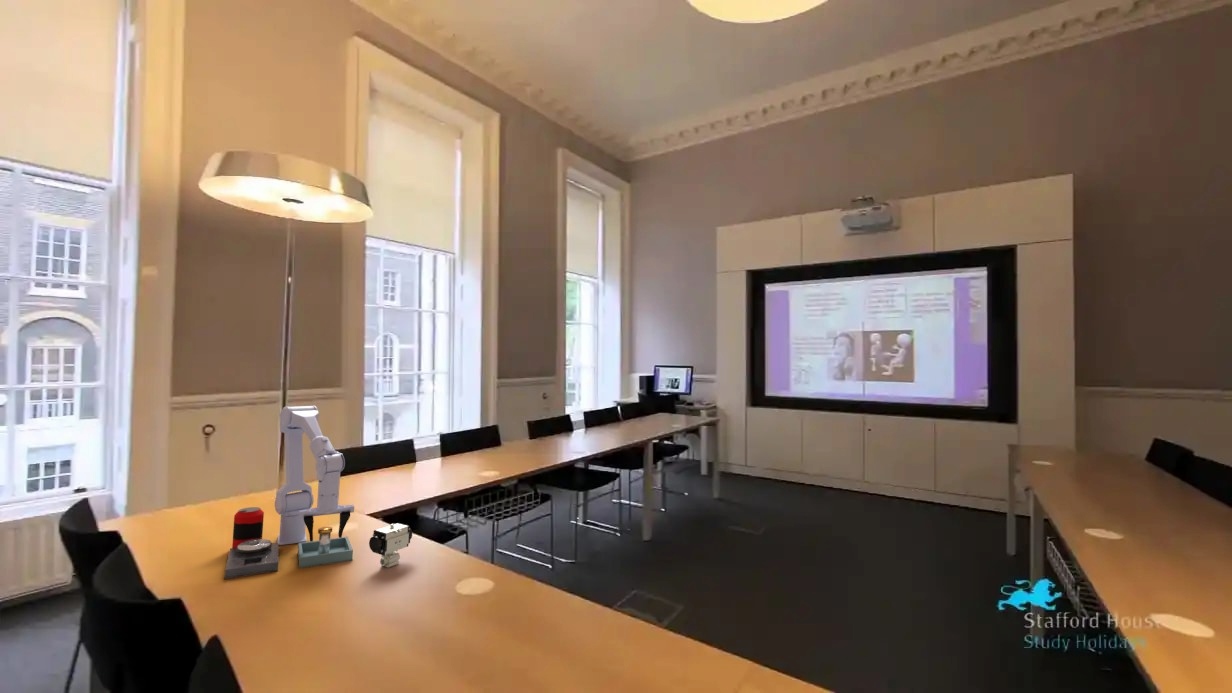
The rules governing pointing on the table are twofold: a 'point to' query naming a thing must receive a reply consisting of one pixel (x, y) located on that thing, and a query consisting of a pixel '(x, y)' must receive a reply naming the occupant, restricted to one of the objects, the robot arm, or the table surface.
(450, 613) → the table surface
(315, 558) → the tray
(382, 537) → the pneumatic valve
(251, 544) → the bracket
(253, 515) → the soda can
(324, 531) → the lock pin
